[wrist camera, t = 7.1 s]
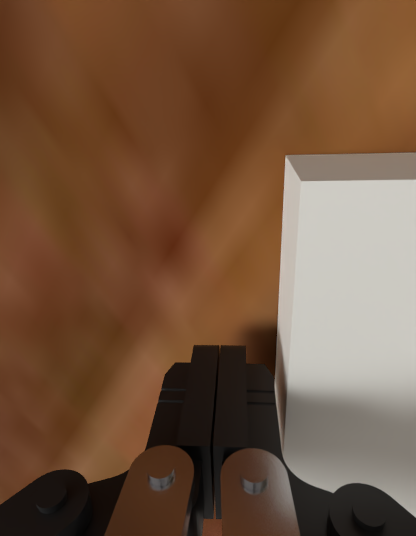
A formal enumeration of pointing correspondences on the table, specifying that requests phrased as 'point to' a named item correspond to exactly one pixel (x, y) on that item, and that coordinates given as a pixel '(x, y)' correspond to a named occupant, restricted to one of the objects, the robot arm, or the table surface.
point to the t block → (349, 322)
